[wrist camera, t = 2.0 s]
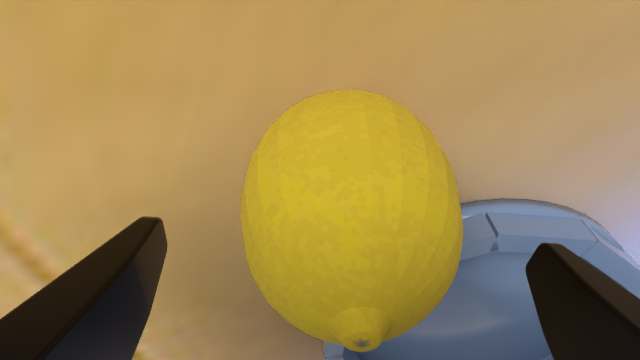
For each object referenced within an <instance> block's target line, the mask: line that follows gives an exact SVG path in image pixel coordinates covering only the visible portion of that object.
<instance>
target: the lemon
mask: <svg viewBox="0 0 640 360" xmlns="http://www.w3.org/2000/svg"><path fill="white" fill-rule="evenodd" d="M241 225H242V234H243V241H244V248H245V254H246V259H247V263H248V266H249V269H250V272H251V274H252V276H253V278H254V280H255V282H256V284H257V286H258V288H259V290H260V291H261V293H262V295H263V296H264V298H265V300H266V301H267V302H268V303H269V304H270V305H271V306H272V307H273V308H274V309H275V310H276V311H277V312H278V313H279V314H280V315H281V316H282V317H283V318H284V319H285V320H286V321H287V322H288V323H290V324H291V325H293V326H294V327H296V328H297V329H299V330H301V331H303V332H304V333H306V334H308V335H310V336H313V337H315V338H318V339H320V340H323V341H326V342H329V343H334V344H340V345H344V346H345V347H346V348H348V349H349V350H352V351H356V352H366V351H371V350H373V349H375V348H377V347H378V346H379V345H380V344H381V343H382V342H384V341H388V340H390V339H393V338H395V337H398V336H400V335H402V334H403V333H405V332H406V331H408V330H410V329H411V328H413V327H414V326H416V325H418V324H419V323H420V322H421V321H422V320H424V319H425V318H426V317H427V316H428V315H429V314H430V313H431V312H432V311H433V310H434V309H435V308H436V307H437V306H438V305H439V303H440V302H441V300H442V299H443V297H444V296H445V294H446V292H447V291H448V289H449V287H450V286H451V284H452V282H453V280H454V278H455V275H456V272H457V270H458V265H459V260H460V255H461V249H462V242H463V220H462V212H461V206H460V200H459V194H458V189H457V183H456V179H455V176H454V172H453V170H452V168H451V165H450V163H449V161H448V159H447V158H446V156H445V154H444V152H443V150H442V149H441V147H440V145H439V143H438V142H437V140H436V138H435V136H434V135H433V134H432V132H431V131H430V130H429V129H428V128H427V127H426V126H425V125H424V124H423V123H422V122H421V121H420V120H419V119H418V118H417V117H415V116H414V115H413V114H412V113H411V112H410V111H409V110H408V109H407V108H405V107H404V106H402V105H400V104H398V103H396V102H394V101H392V100H390V99H388V98H386V97H384V96H382V95H379V94H374V93H370V92H365V91H360V90H355V89H354V90H332V91H328V92H325V93H321V94H318V95H314V96H311V97H308V98H307V99H305V100H303V101H301V102H300V103H298V104H296V105H294V106H293V107H291V108H289V109H288V110H286V111H285V112H284V113H283V114H282V115H281V116H280V117H279V118H278V119H277V120H276V121H275V122H274V123H273V124H272V125H271V126H270V127H269V128H268V130H267V131H266V133H265V134H264V136H263V138H262V140H261V141H260V143H259V145H258V147H257V148H256V150H255V152H254V154H253V156H252V158H251V160H250V163H249V166H248V169H247V174H246V178H245V183H244V188H243V193H242V199H241Z"/></svg>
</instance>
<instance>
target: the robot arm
mask: <svg viewBox="0 0 640 360" xmlns="http://www.w3.org/2000/svg"><path fill="white" fill-rule="evenodd" d="M166 253H167V239H166V234H165V230H164V225H163V221H162V220H161V218H159V217H146V216H144V217H141V218H139V219H137V220H136V221H135V222H133V223H132V224H131V225H129V226H128V227H126V228H125V229H124V230H122V231H121V232H120V233H118V234H117V235H115V236H114V237H113V238H111V239H110V240H108V241H107V242H106V243H104V244H103V245H102V246H100V247H99V248H97V249H96V250H95V251H93V252H92V253H91V254H89V255H88V256H86V257H85V258H84V259H82V260H81V261H80V262H78V263H77V264H75V265H74V266H73V267H71V268H70V269H69V270H67V271H66V272H64V273H63V274H62V275H60V276H59V277H58V278H56V279H55V280H53V281H52V282H51V283H49V284H48V285H47V286H45V287H44V288H42V289H41V290H40V291H38V292H37V293H35V294H34V295H33V296H31V297H30V298H29V299H27V300H26V301H24V302H23V303H22V304H20V305H19V306H18V307H16V308H15V309H13V310H12V311H11V312H9V313H8V314H7V315H5V316H4V317H2V318H1V319H0V360H132V358H133V355H134V353H135V350H136V348H137V345H138V343H139V340H140V338H141V335H142V333H143V330H144V328H145V325H146V322H147V320H148V317H149V314H150V311H151V308H152V304H153V301H154V297H155V293H156V290H157V286H158V282H159V279H160V275H161V271H162V268H163V264H164V260H165V256H166ZM525 271H526V277H527V280H528V283H529V287H530V290H531V294H532V297H533V301H534V304H535V308H536V311H537V315H538V318H539V322H540V325H541V328H542V331H543V334H544V337H545V339H546V342H547V345H548V347H549V349H550V352H551V354H552V357H553V359H554V360H640V298H638V297H637V296H635V295H634V294H632V293H631V292H629V291H628V290H627V289H625V288H624V287H622V286H621V285H619V284H618V283H616V282H615V281H614V280H612V279H611V278H609V277H608V276H606V275H605V274H603V273H602V272H601V271H599V270H598V269H596V268H595V267H593V266H592V265H591V264H589V263H588V262H586V261H585V260H583V259H582V258H580V257H579V256H578V255H576V254H575V253H573V252H572V251H570V250H569V249H567V248H566V247H565V246H563V245H561V244H559V243H547V242H544V243H541V244H540V245H539V246H538V247H537V248H536V250H535V252H534V253H533V255H532V256H531V258H530V259H529V261H528V262H527V264H526V269H525Z"/></svg>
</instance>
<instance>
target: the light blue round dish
mask: <svg viewBox="0 0 640 360" xmlns="http://www.w3.org/2000/svg"><path fill="white" fill-rule="evenodd" d="M460 206H461V212H462V220H463V242H462V249H461V255H460V260H459V265H458V270H457V272H456V275H455V278H454V280H453V282H452V284H451V286H450V287H449V289H448V291H447V292H446V294H445V296H444V297H443V299H442V300H441V302H440V303H439V305H438V306H437V307H436V308H435V309H434V310H433V311H432V312H431V313H430V314H429V315H428V316H427V317H426V318H425V319H424V320H422V321H421V322H420V323H419V324H418V325H416V326H414V327H413V328H411V329H410V330H408V331H406V332H405V333H403V334H402V335H400V336H398V337H395V338H393V339H390V340H388V341H384V342H382V343H381V344H380V345H379V346H378V347H377V348H375V349H373V350H371V351H366V352H356V351H352V350H349V349H348V348H346V347H345V346H344V345H340V344H334V343H329V342H326V341H323V343H324V359H325V360H554V359H553V357H552V354H551V352H550V349H549V347H548V345H547V342H546V339H545V337H544V334H543V331H542V328H541V325H540V322H539V318H538V315H537V311H536V308H535V304H534V301H533V297H532V294H531V290H530V287H529V283H528V280H527V277H526V271H525V269H526V264H527V262H528V261H529V259H530V258H531V256H532V255H533V253H534V252H535V250H536V248H537V247H538V246H539V245H540V244H541V243H544V242H547V243H559V244H561V245H563V246H565V247H566V248H567V249H569V250H570V251H572V252H573V253H575V254H576V255H578V256H579V257H580V258H582V259H583V260H585V261H586V262H588V263H589V264H591V265H592V266H593V267H595V268H596V269H598V270H599V271H601V272H602V273H603V274H605V275H606V276H608V277H609V278H611V279H612V280H614V281H615V282H616V283H618V284H619V285H621V286H622V287H624V288H625V289H627V290H628V291H629V292H631V293H632V294H634V295H635V296H637V297H638V298H640V266H639V265H638V264H637V263H636V262H635V261H634V259H633V258H632V257H631V256H630V255H628V254H627V253H626V252H625V251H624V250H623V248H622V247H621V246H620V244H619V243H618V242H617V241H616V240H615V239H614V238H613V237H612V235H611V234H610V233H609V232H608V231H607V230H606V229H605V228H603V227H602V226H601V225H600V224H599V223H598V222H596V221H595V220H593V219H592V218H590V217H588V216H587V215H585V214H583V213H581V212H578V211H576V210H573V209H571V208H569V207H565V206H561V205H557V204H553V203H549V202H543V201H536V200H528V199H493V200H480V201H473V202H467V203H462V204H460Z"/></svg>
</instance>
